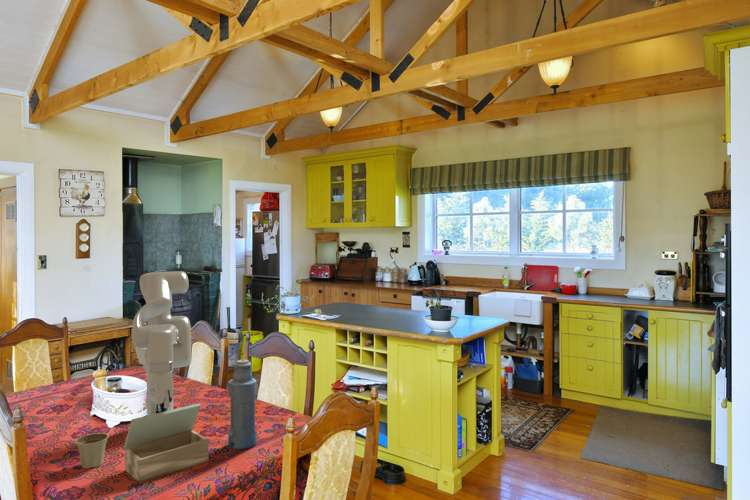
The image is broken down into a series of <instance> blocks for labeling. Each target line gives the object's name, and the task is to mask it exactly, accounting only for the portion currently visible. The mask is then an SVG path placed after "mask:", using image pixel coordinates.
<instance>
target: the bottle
mask: <svg viewBox="0 0 750 500" xmlns="http://www.w3.org/2000/svg"><path fill="white" fill-rule="evenodd" d="M233 368H234V369H233V378H232V379H230V380H229V381H228V394H229V396H230V427H229V430H228V438H227V439H228V447H229V448H231V449H233V450H245V449H250V448H252V447H254V446H255V445H256V444H257V441H258V440H257V435H258V433H257V431H256V426H255V425H256V420H255V419H256V417H255V416H256V406H255V405H256V395H257V391H258V390H257V379H255V378H254V377H253V374H252V363H251V362H250V361H249V360H248V359H238V360H237V361H236V362H234V364H233Z"/></svg>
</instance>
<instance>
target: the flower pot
mask: <svg viewBox="0 0 750 500" xmlns="http://www.w3.org/2000/svg"><path fill="white" fill-rule="evenodd" d="M109 437H110V436H109V434H108V433H105V432H97V433H96V432H95V433H88V434H85V435H82V436H80V437H78V438H77V439H75V442H74V443H75V444H76V447H77V448H78V452H79V458H80V466H81V468H82V469H91V468H97V467H100V466H101V465H103V464H104V461H105V452H106V444H107V442H108V438H109Z"/></svg>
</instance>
